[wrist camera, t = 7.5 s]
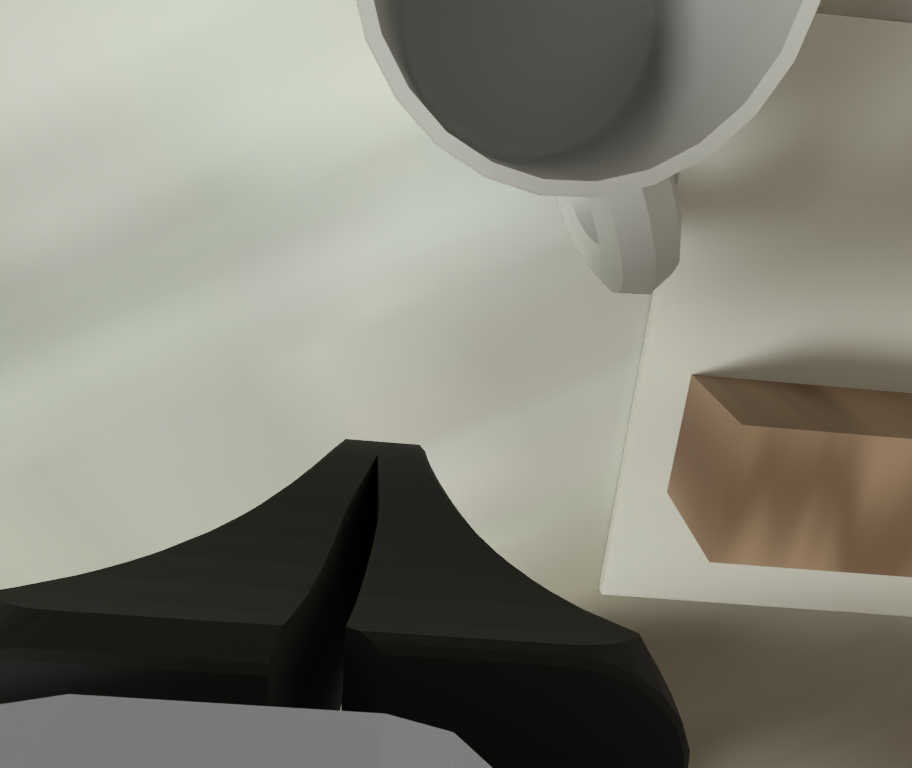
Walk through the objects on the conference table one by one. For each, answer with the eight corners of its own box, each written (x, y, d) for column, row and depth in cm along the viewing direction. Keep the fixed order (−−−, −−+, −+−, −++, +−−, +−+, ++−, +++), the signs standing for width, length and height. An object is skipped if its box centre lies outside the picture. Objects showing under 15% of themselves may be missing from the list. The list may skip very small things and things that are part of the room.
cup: (622, -181, 18) (782, -467, 9) (716, 213, 21) (899, 268, 12) (349, -65, 18) (265, -232, 10) (479, 297, 22) (500, 404, 13)
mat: (1047, 619, 25) (1056, 627, 25) (598, 587, 25) (601, 594, 24) (1286, 65, 20) (1302, 64, 19) (705, 4, 19) (711, 1, 19)
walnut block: (978, 582, 20) (709, 562, 19) (894, 509, 24) (666, 492, 23) (1030, 448, 18) (742, 424, 18) (931, 395, 22) (691, 374, 22)
